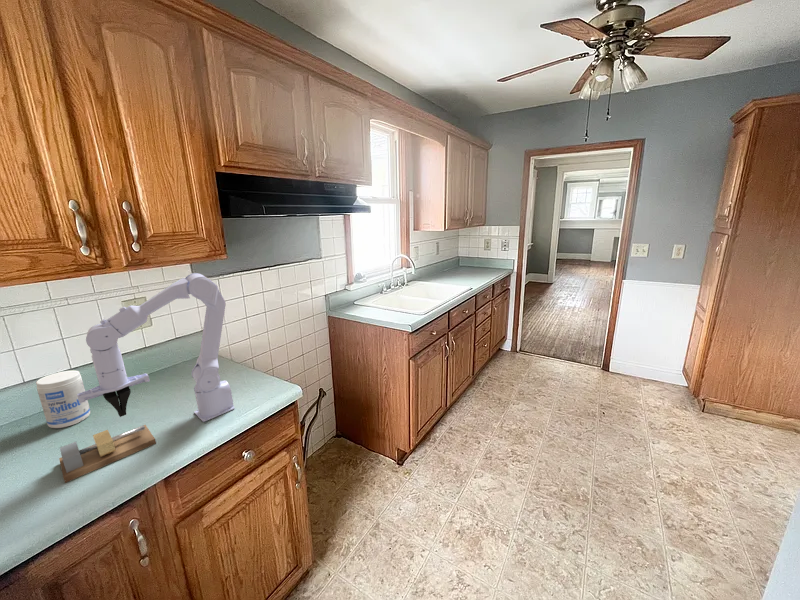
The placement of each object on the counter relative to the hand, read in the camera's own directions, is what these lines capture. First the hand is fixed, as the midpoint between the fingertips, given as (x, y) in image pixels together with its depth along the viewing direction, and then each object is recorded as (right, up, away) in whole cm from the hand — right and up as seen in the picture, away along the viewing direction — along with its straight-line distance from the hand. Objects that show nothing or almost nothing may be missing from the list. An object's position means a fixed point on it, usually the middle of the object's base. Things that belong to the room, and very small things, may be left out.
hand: (122, 414), depth 90 cm
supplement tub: (-26, -6, +12) cm, 30 cm away
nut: (-2, -8, -4) cm, 8 cm away
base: (-1, -9, -3) cm, 10 cm away
